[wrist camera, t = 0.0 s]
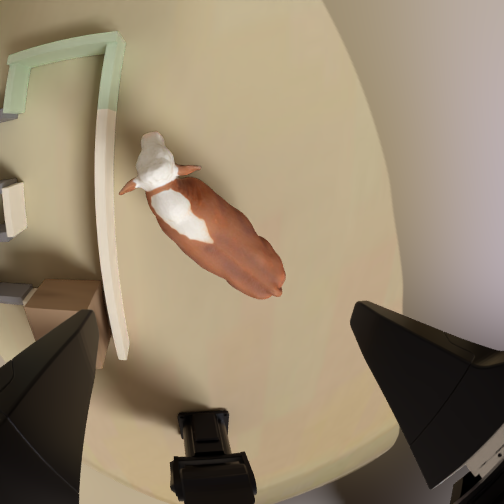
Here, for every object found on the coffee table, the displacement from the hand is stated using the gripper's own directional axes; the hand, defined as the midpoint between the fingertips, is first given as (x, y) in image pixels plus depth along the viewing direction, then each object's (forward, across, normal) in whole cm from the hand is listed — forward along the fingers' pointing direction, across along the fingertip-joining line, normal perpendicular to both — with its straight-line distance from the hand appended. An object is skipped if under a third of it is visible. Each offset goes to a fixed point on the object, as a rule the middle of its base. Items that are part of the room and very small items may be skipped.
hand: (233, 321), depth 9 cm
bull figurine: (+15, 0, 0) cm, 15 cm away
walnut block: (+15, +12, +9) cm, 21 cm away
